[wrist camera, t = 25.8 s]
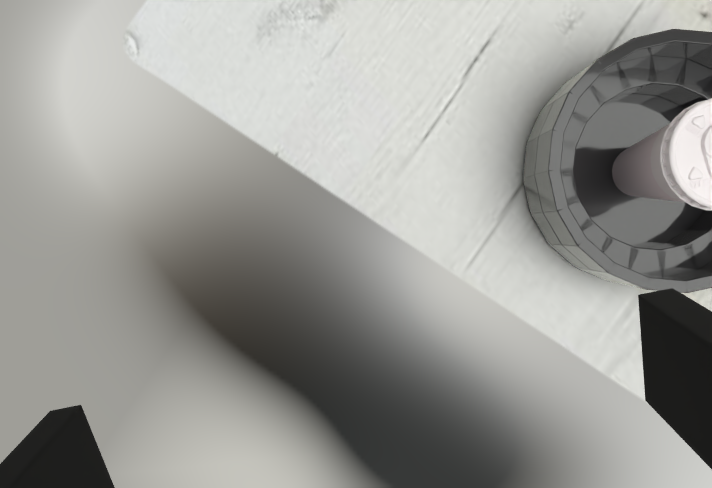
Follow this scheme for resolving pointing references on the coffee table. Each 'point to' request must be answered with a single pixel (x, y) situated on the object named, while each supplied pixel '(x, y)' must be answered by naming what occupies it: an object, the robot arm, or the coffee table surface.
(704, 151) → the smoothie
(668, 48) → the bowl
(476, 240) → the coffee table surface
